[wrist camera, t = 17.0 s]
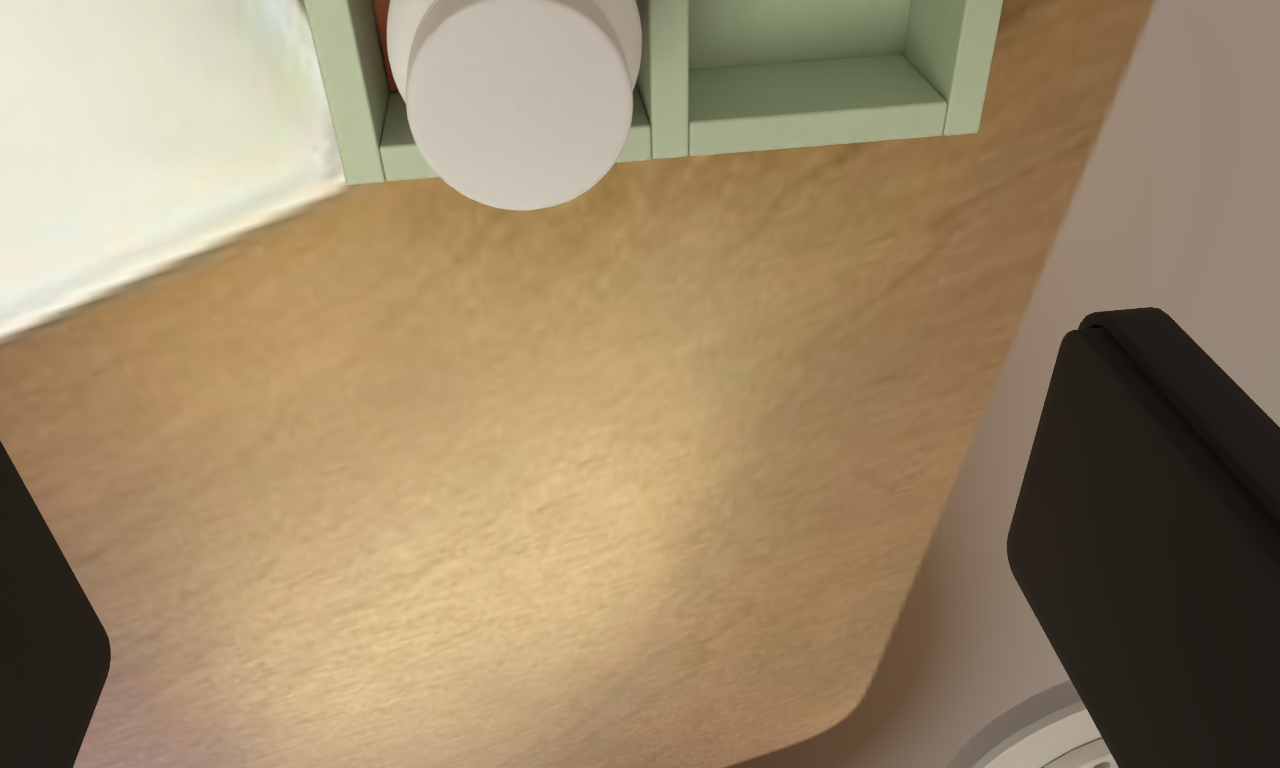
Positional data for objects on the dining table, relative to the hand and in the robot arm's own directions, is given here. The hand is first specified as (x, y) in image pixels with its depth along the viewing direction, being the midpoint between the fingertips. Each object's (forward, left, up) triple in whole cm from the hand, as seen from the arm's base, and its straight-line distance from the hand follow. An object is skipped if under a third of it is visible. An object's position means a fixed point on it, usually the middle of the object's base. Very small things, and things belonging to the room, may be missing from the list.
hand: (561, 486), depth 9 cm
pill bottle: (0, 0, -16) cm, 16 cm away
